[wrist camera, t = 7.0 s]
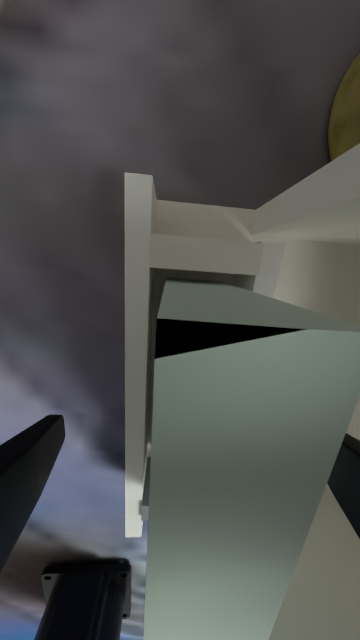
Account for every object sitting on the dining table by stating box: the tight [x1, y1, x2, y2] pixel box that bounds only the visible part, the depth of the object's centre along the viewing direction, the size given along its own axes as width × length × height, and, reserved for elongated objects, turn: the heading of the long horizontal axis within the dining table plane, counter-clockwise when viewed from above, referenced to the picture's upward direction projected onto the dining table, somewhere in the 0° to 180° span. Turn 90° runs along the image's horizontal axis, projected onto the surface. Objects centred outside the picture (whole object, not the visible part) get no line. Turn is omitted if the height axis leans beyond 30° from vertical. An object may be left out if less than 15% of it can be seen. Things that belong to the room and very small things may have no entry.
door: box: [144, 277, 360, 640], centre depth 7 cm, size 10×2×7 cm, turn 176°
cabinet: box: [125, 143, 360, 640], centre depth 8 cm, size 16×13×7 cm
